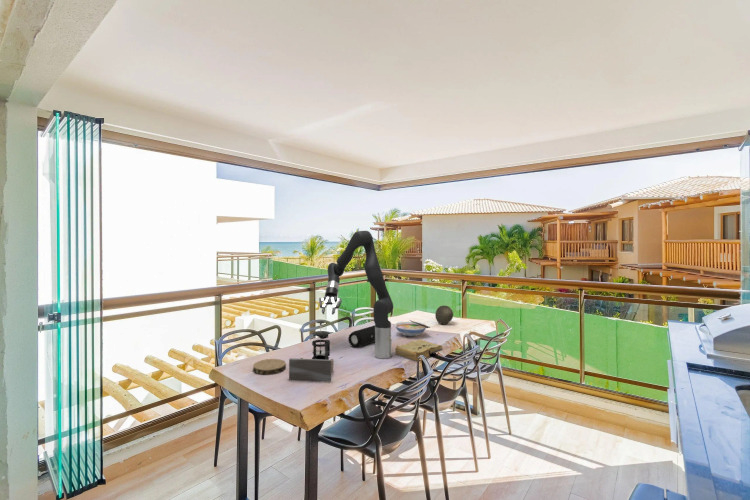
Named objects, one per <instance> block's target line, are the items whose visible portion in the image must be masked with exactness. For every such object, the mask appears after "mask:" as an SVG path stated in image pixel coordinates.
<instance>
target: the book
mask: <svg viewBox="0 0 750 500" xmlns="http://www.w3.org/2000/svg"><path fill="white" fill-rule="evenodd" d="M443 350H444V348H443V346H442V345H441V344H437V343H434V342H429V341H427V340H423V339H418V340H413V341H412V340H411V341H409V342H407V343H405V344H402V345H396V346H395V350H394V351H395V353H394V356H397V357H399V358H403V359H406V360H408V361H411V362H414V363H417V362H421V361H422V360H419V361H418V357H419V356H420V355H424V356H425V357H426V359H429V358H431V355H434V354H436V353H439V352H441V351H443ZM432 353H433V354H432ZM426 359H425V360H426Z"/></svg>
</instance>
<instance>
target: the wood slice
mask: <svg viewBox="0 0 750 500" xmlns="http://www.w3.org/2000/svg"><path fill="white" fill-rule="evenodd" d="M286 365H287V363H286V361H285V360H283V359H279V358H269V359H262V360H259V361H257V362H255V363H253V369H252V371H253V373H255V374H256V375H259V376H270V375H272V376H273V375H277V374H280V373H282V372H284V371H285V370H286V368H287V367H286Z"/></svg>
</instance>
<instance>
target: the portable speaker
mask: <svg viewBox="0 0 750 500" xmlns="http://www.w3.org/2000/svg"><path fill="white" fill-rule="evenodd" d="M347 340H348V343H349V345H350V346H351V347H353V348H354V347H355V348H359V347H362V346H365V345H368V344H370V343H373V342H374V343H375V324H374V325H372V326H371V325H370V326H367V327H364V328H361V329H358V330H354V331H351V333H350V334H349V335H348V339H347Z"/></svg>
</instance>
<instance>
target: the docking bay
mask: <svg viewBox="0 0 750 500" xmlns="http://www.w3.org/2000/svg"><path fill="white" fill-rule="evenodd" d="M288 361H289V362H288V381H299V382H300V381H301V382H302V381H303V382H320V381H331V382H332V374H333V372H334V359H332V358H330V359H329V360H322V359H312V358H304V357H300V358H295V357H294V358H293V357H292V358H291V357H290V358H289V360H288ZM331 373H332V374H331Z"/></svg>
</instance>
